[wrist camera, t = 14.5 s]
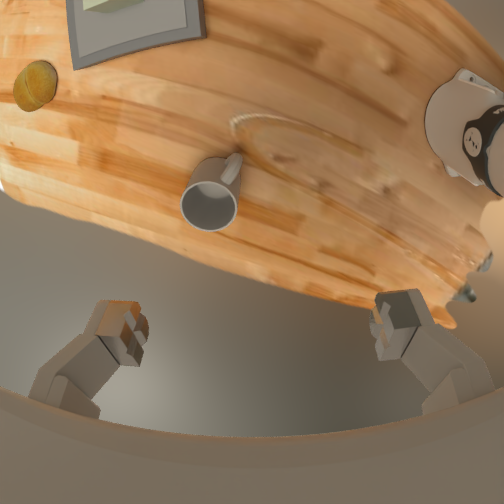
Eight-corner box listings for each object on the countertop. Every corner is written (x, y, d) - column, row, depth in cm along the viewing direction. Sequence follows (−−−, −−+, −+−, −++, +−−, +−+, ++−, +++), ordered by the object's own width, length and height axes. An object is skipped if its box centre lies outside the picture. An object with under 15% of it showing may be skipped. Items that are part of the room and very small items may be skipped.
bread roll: (65, 92, 33) (50, 97, 30) (30, 115, 35) (16, 122, 32) (51, 50, 28) (36, 52, 25) (17, 76, 30) (2, 81, 27)
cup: (184, 183, 44) (170, 213, 37) (220, 131, 39) (211, 151, 32) (223, 207, 46) (216, 240, 39) (262, 159, 41) (263, 185, 34)
